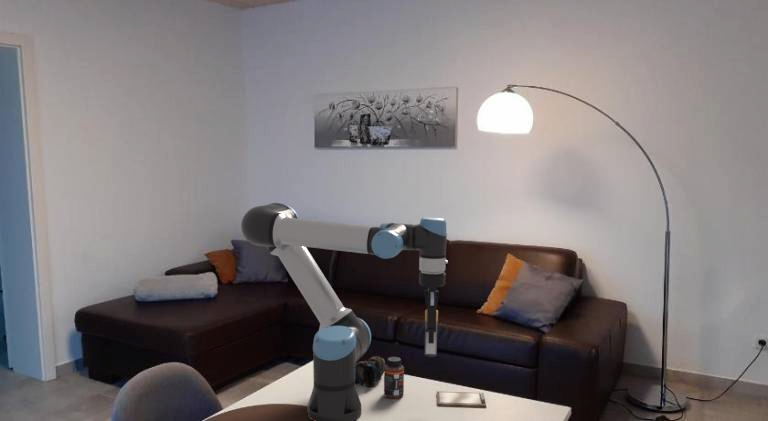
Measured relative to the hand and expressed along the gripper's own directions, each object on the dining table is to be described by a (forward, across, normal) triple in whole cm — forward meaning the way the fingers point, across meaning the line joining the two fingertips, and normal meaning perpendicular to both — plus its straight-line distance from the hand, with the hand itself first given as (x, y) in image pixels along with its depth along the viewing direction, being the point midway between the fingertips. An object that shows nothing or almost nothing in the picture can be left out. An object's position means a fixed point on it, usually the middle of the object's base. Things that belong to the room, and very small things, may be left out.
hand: (430, 350), depth 167 cm
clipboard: (+16, +3, -9) cm, 19 cm away
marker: (+1, 0, 0) cm, 1 cm away
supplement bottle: (+16, +5, +11) cm, 20 cm away
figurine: (+16, +16, +18) cm, 29 cm away
